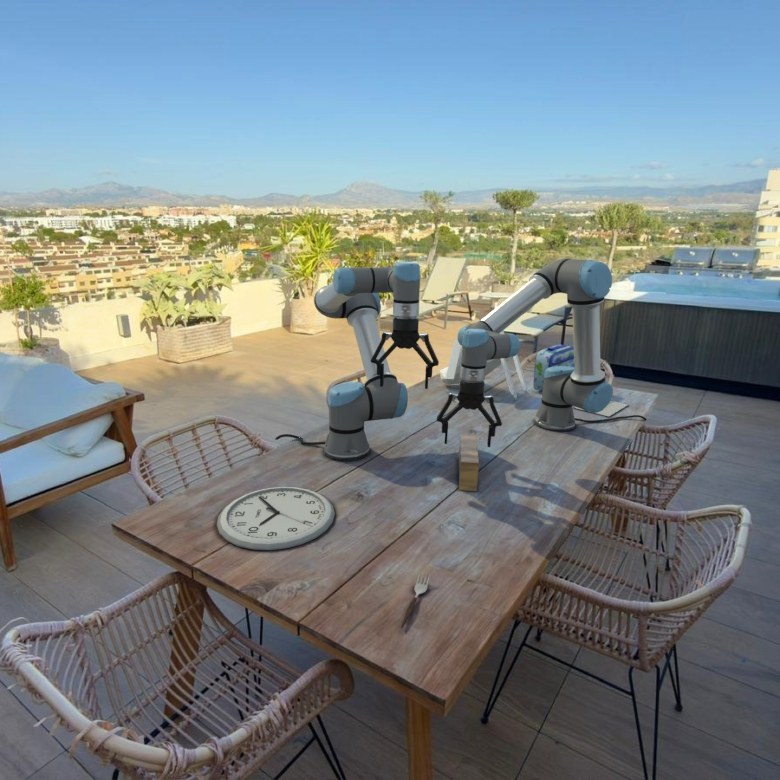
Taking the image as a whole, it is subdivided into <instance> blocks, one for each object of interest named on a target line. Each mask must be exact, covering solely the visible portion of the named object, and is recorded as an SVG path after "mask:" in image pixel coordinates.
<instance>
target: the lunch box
mask: <svg viewBox="0 0 780 780" xmlns="http://www.w3.org/2000/svg"><path fill="white" fill-rule="evenodd" d="M555 366H569V367H575V365H574V346H571V345H565V344H556V345H553V346H549V347H546V348H544V349H541V350H539V351H538V353H537V354H536V357H535V361H534V371H533V372H534V373H533V389H534V390H535V391H539V392H542V390H543V379H544V374H545V370H546V369H547V368H549V367H555Z"/></svg>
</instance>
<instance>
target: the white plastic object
mask: <svg viewBox="0 0 780 780" xmlns="http://www.w3.org/2000/svg"><path fill="white" fill-rule="evenodd" d="M499 334H505V330H503V331H502V332H501V333H499ZM461 360H462V346H461V345H460V344H459V342H458V338H454V340H453V344H452V349H451V353H450V357H449V362H448V366H446V367H444V368H442V369H440V370H439V371H438V372H439V376H440V381H442V383H443V384H444V385H445V386H449V385H458V384H459V385H460V380H461V378H460V373H461ZM510 360H513V363H514V366H515V369H516V372H517V376H518V380H519V382H520V385H521V389H522V391H523V393H524V395H525V396H526V397H528V396H531V395H530V390H529V388H528V387H529V386H528V384H527V381H526V378H525V375H524V371H523V369H522V368H523V367H522V366H521V362H520V359H519V355H518V354H517V355H516V356H514V357H509V358H501V359H491V360H487V362H486V371H485V377H486V376H487V375H489V374H490V373H492V372H494V371H495V370H496V369H497V368H499V367H500V366H502V370H503V373H504V376H505V380H506V383H507V386H508V390H509V393H510V394H511V395H512V397H513V398H514V399H515V400H517V392H516V391H517V390H516V388H515V385H514V381H513V378H512V375H511V371H510V369H509V365H508V361H510Z"/></svg>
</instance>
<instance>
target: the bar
mask: <svg viewBox="0 0 780 780" xmlns="http://www.w3.org/2000/svg"><path fill="white" fill-rule="evenodd" d="M458 447H459V450H458V491H466V492H467V491H469V492H477V491H478V483H479V481H478V480H479V467H480V460H479V449H478V441H477V434H471V433H470V434H468V433H460V434H459V446H458Z"/></svg>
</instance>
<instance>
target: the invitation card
mask: <svg viewBox="0 0 780 780" xmlns="http://www.w3.org/2000/svg"><path fill="white" fill-rule="evenodd" d="M628 406H629V404H627V403H623V402H618V401H614V400H610V402H609V404H608V405H607V406H606V407H605V408H604V409H603V410H602V411H600V412H597V413H595V414H596V415H600V416H604V417H608V418H609V417H611V416H613V415H614V414H616V413H617V412H619V411H621V410H623V409H624V408H626V407H628ZM573 409H575V410H581V411H584V410H583V409H581V408H578V407H575V406H573ZM587 413H590V412H589V411H587Z"/></svg>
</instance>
